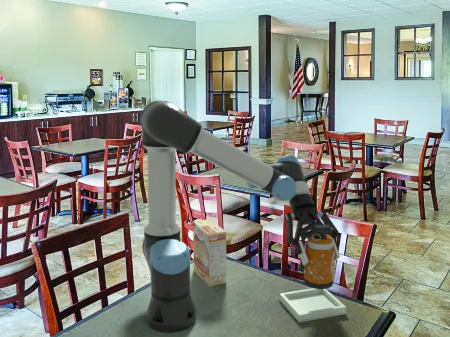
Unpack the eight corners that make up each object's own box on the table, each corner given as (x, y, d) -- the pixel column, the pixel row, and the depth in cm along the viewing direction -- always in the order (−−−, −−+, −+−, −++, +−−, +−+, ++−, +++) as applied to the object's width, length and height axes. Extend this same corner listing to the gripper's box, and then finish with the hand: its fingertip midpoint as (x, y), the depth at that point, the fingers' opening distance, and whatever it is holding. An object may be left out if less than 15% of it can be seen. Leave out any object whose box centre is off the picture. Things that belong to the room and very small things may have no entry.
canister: (333, 292, 140) (336, 230, 135) (296, 289, 142) (298, 228, 137) (332, 279, 148) (335, 220, 144) (298, 276, 151) (300, 218, 146)
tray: (299, 322, 138) (299, 315, 137) (279, 300, 151) (279, 293, 150) (345, 314, 143) (346, 306, 142) (322, 293, 156) (323, 286, 155)
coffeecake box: (192, 270, 173) (192, 221, 169) (210, 266, 176) (210, 218, 172) (208, 287, 160) (208, 234, 155) (226, 283, 163) (227, 231, 158)
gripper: (325, 200, 158) (348, 260, 147) (264, 206, 151) (283, 270, 140) (334, 189, 152) (359, 251, 141) (271, 195, 145) (292, 261, 134)
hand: (321, 261), depth 140 cm, fingers closed on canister, 10 cm apart
